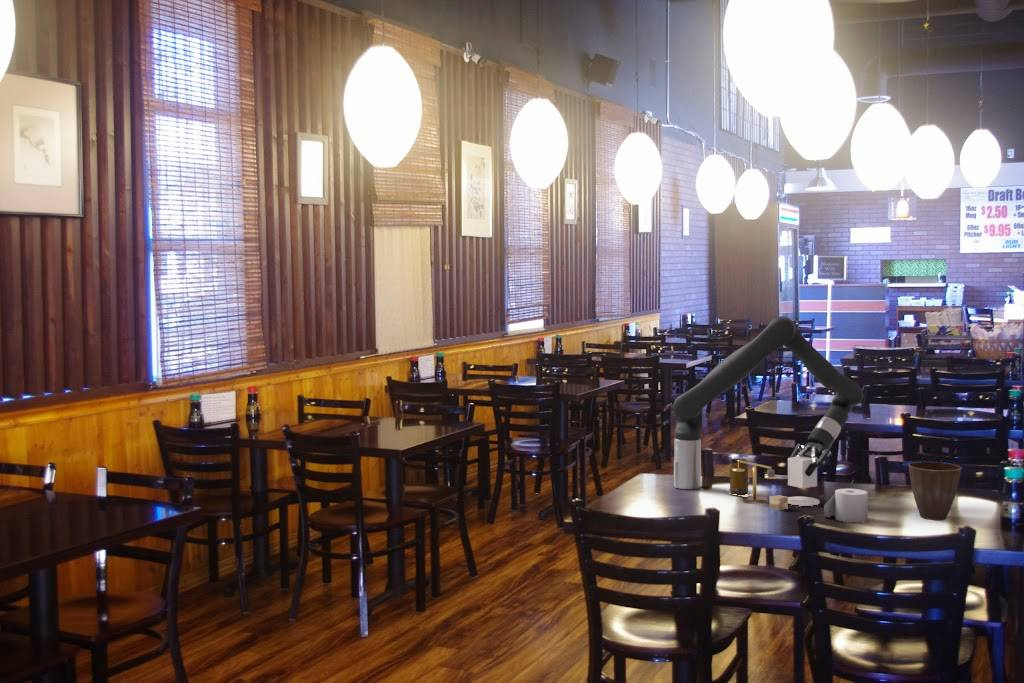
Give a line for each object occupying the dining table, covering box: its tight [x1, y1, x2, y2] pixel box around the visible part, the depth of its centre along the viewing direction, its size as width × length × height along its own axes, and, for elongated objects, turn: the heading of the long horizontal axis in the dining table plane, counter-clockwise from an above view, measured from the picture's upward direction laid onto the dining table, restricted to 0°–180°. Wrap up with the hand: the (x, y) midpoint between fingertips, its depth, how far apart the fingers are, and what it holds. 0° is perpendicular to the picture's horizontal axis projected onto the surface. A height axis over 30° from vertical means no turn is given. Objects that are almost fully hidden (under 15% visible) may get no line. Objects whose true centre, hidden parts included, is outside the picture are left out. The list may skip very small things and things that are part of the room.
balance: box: [732, 460, 778, 504], centre depth 342 cm, size 15×5×14 cm, turn 85°
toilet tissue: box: [823, 487, 869, 523], centre depth 315 cm, size 9×13×9 cm
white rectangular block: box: [787, 455, 818, 489], centre depth 339 cm, size 6×6×9 cm
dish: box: [787, 495, 820, 507], centre depth 339 cm, size 11×11×1 cm
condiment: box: [729, 458, 749, 495], centre depth 354 cm, size 7×8×12 cm
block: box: [769, 494, 789, 511], centre depth 331 cm, size 4×4×4 cm
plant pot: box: [908, 461, 962, 521], centre depth 317 cm, size 15×15×16 cm
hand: (798, 472), depth 338 cm, fingers closed on white rectangular block, 6 cm apart
